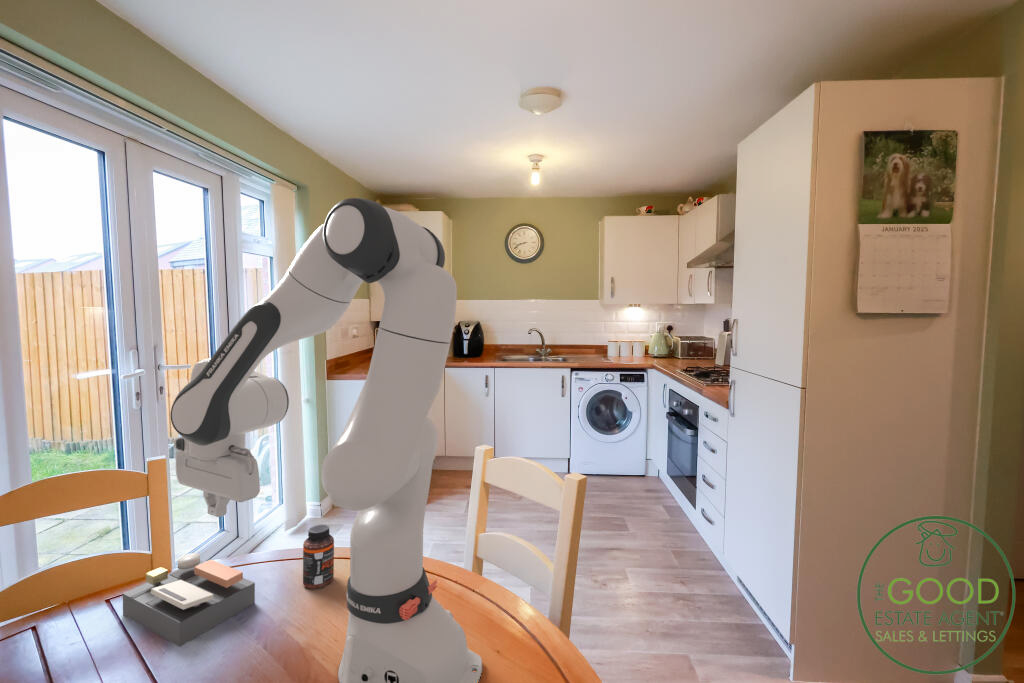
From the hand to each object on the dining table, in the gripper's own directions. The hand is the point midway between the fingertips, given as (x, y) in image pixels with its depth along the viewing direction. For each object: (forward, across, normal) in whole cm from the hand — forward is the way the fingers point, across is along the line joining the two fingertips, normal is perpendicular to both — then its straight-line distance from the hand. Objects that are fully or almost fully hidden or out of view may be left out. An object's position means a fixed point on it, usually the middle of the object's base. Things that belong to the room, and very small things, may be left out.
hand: (217, 514), depth 83 cm
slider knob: (+14, +9, +5) cm, 17 cm away
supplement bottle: (+17, -11, -14) cm, 25 cm away
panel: (+18, +3, +3) cm, 18 cm away
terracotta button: (+12, 0, 0) cm, 12 cm away
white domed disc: (+12, +9, 0) cm, 15 cm away
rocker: (+12, 0, +6) cm, 14 cm away
